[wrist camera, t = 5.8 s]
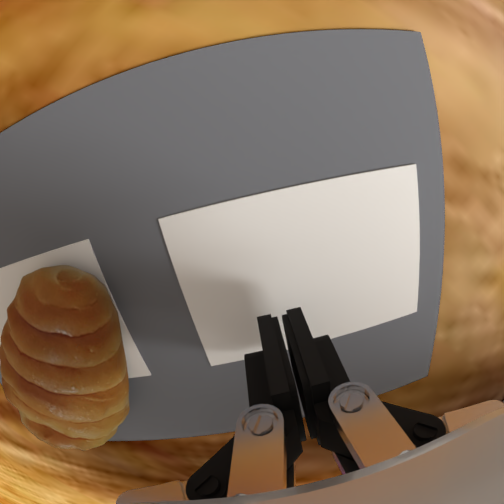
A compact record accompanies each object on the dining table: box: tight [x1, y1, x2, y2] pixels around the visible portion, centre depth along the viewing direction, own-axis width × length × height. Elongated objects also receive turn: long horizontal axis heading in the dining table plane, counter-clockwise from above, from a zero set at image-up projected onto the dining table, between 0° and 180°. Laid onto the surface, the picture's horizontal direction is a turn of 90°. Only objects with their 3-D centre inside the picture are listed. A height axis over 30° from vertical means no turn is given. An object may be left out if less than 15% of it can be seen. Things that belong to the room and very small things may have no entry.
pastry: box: [0, 265, 130, 451], centre depth 11 cm, size 9×7×4 cm
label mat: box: [0, 29, 445, 441], centre depth 12 cm, size 26×18×1 cm
